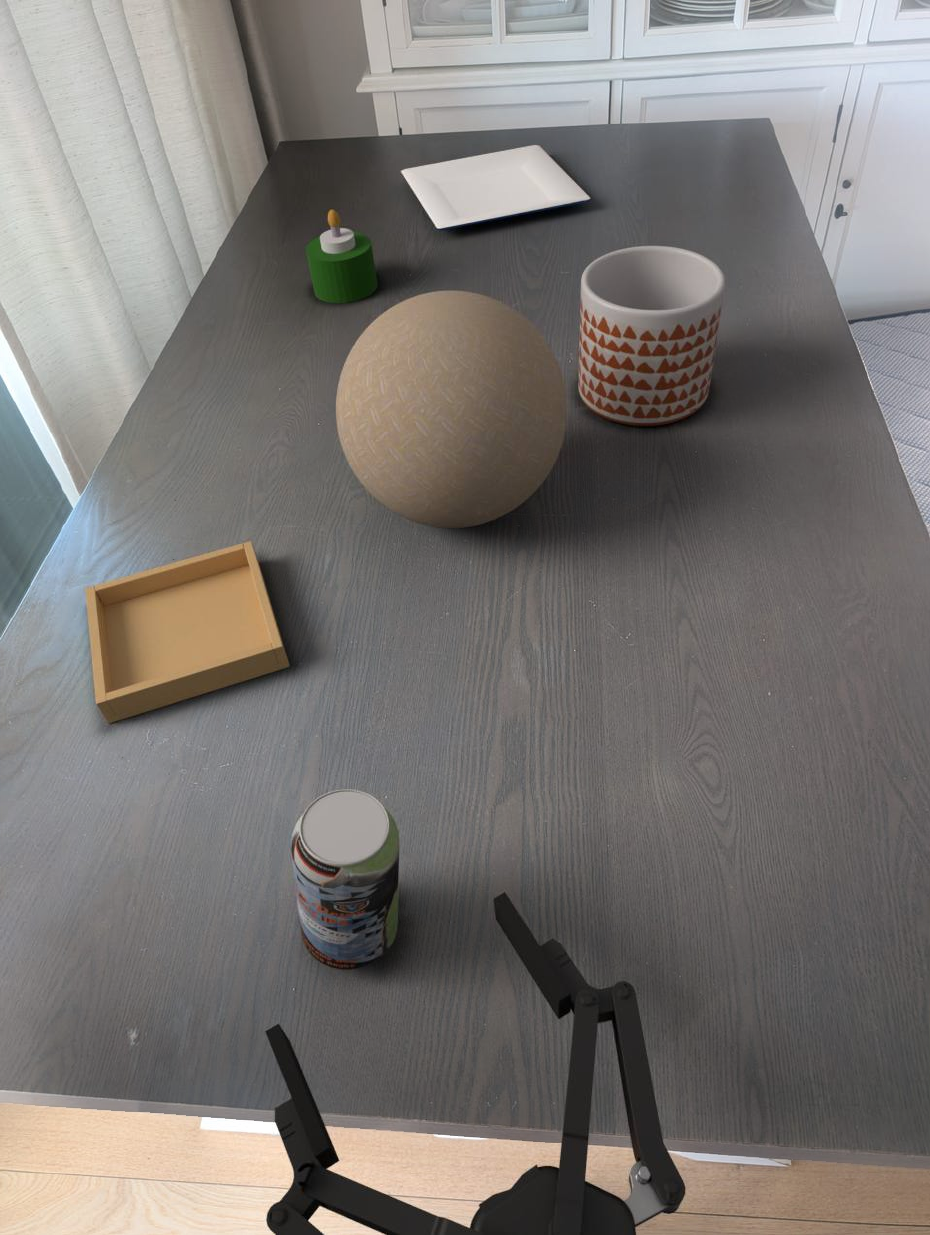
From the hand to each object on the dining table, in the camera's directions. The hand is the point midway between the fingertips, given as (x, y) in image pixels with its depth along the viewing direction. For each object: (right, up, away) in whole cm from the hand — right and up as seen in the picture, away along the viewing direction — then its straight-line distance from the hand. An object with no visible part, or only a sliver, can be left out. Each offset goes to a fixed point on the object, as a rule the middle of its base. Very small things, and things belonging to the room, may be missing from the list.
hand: (393, 967), depth 49 cm
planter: (+23, +43, +47) cm, 68 cm away
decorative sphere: (+4, +30, +37) cm, 47 cm away
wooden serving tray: (-19, +17, +27) cm, 38 cm away
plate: (+8, +81, +84) cm, 117 cm away
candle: (-12, +62, +68) cm, 93 cm away
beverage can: (-3, -1, +9) cm, 9 cm away
